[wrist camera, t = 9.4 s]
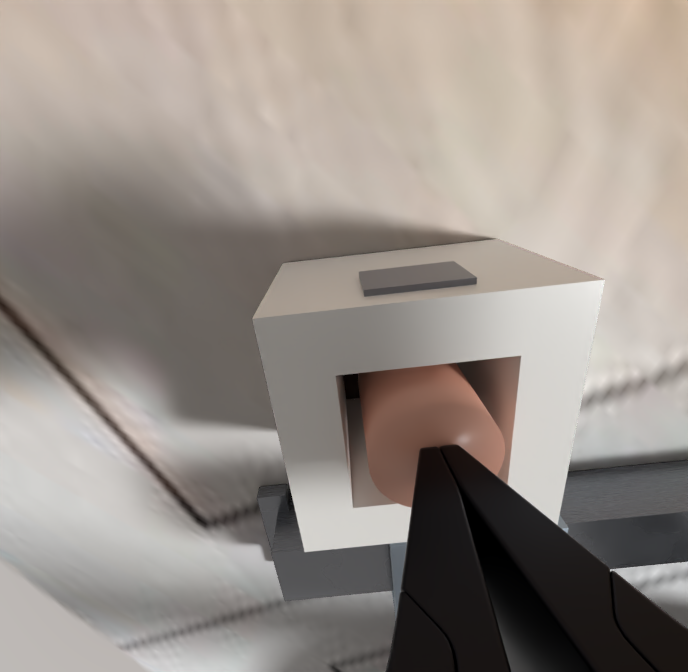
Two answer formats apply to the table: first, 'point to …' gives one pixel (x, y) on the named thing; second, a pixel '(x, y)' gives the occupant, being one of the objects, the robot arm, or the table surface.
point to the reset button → (422, 423)
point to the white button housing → (422, 350)
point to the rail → (576, 510)
